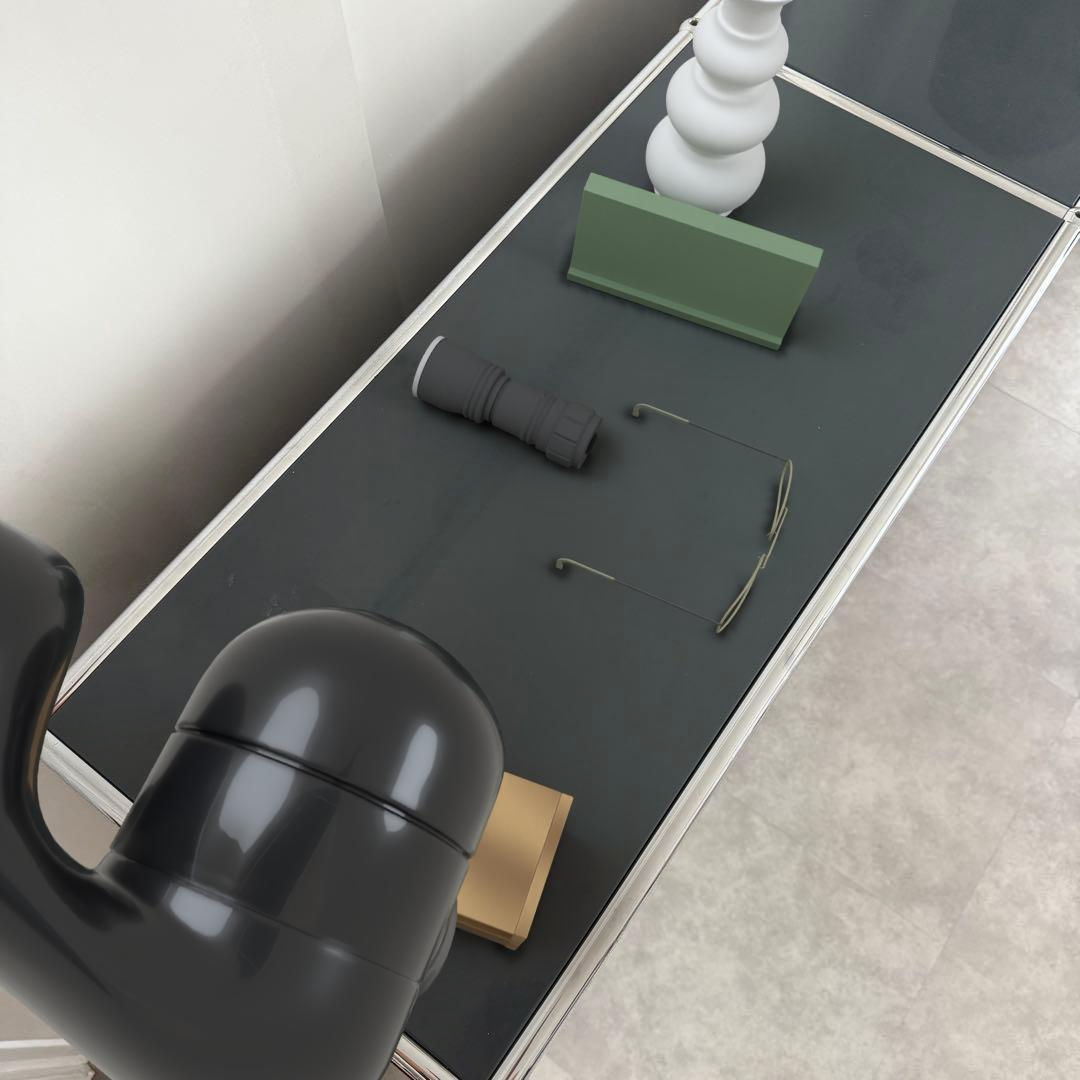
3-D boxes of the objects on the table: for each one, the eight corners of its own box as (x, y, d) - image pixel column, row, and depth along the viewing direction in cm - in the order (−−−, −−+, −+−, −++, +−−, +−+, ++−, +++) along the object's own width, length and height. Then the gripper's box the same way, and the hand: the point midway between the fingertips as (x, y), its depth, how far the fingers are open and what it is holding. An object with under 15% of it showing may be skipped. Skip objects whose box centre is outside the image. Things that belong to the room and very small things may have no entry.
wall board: (777, 351, 98) (816, 274, 88) (566, 279, 99) (580, 195, 89) (790, 308, 100) (830, 228, 90) (583, 238, 101) (599, 152, 91)
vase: (653, 246, 102) (715, 20, 79) (625, 155, 106) (676, -84, 83) (765, 233, 104) (857, 8, 81) (733, 144, 108) (812, -94, 85)
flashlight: (603, 434, 93) (613, 401, 88) (577, 485, 91) (585, 454, 86) (442, 359, 95) (443, 323, 90) (412, 407, 93) (411, 373, 88)
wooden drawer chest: (513, 953, 76) (525, 942, 66) (298, 871, 77) (277, 848, 67) (556, 825, 80) (573, 796, 70) (351, 749, 81) (338, 709, 71)
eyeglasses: (727, 646, 86) (743, 625, 82) (554, 568, 88) (561, 542, 83) (793, 484, 93) (811, 456, 88) (631, 413, 94) (641, 382, 90)
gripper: (333, 700, 41) (360, 783, 57) (157, 1063, 36) (240, 1044, 52) (518, 777, 41) (494, 840, 57) (366, 1157, 36) (386, 1108, 52)
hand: (372, 938), depth 54 cm, fingers closed
